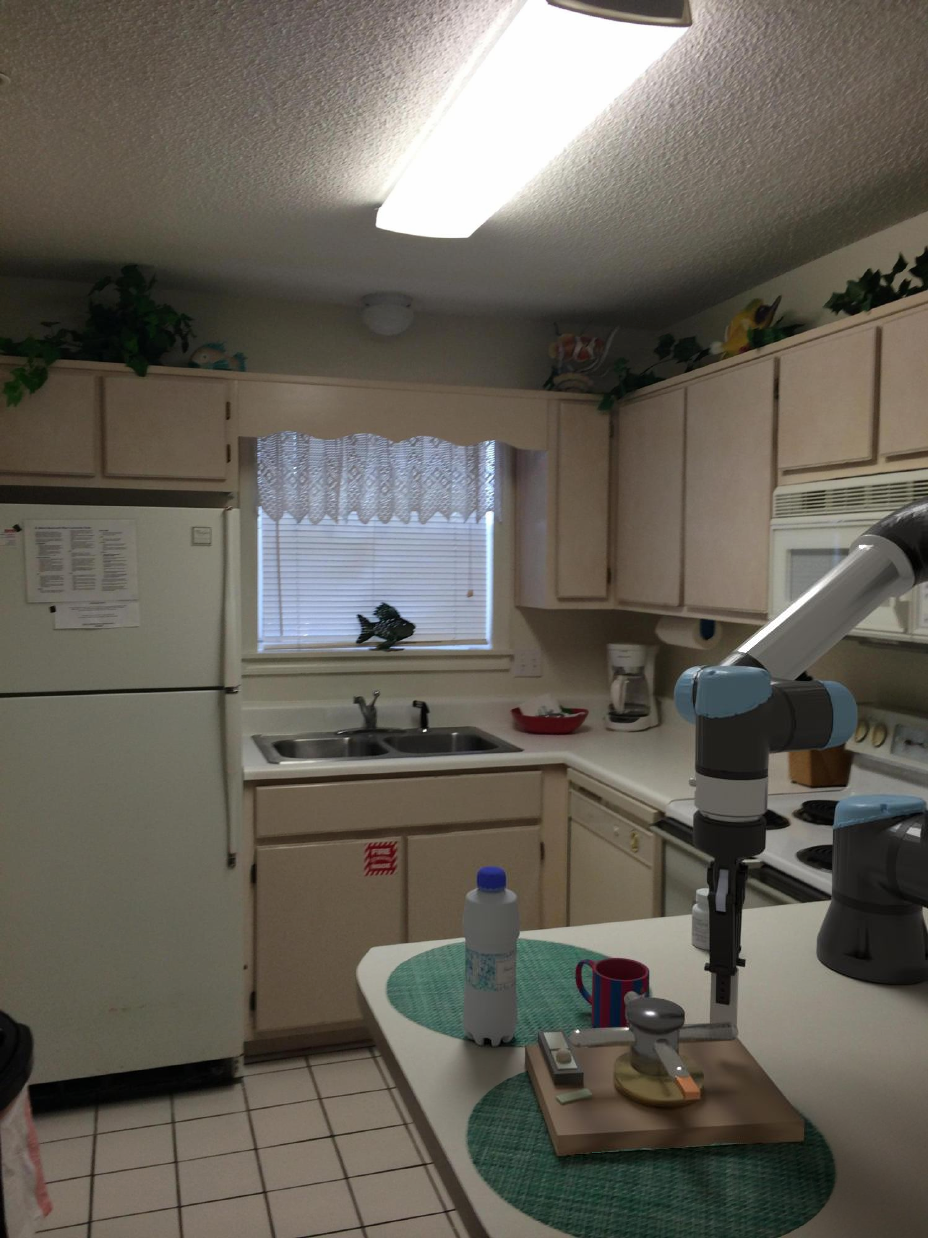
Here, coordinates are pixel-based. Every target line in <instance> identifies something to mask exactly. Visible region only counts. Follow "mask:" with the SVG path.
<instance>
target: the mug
mask: <svg viewBox="0 0 928 1238" xmlns="http://www.w3.org/2000/svg"><path fill="white" fill-rule="evenodd" d="M584 965H587V966H589V967H590V968H591V970H592V973H591V975H592V978H591V984H592V985H591V994H590V993H589V992H588V991H587V989H586V988H585V986H584V983H583V977H582V973H583V967H584ZM574 972H575V973H574V974H575V975H574V979H575V983H576V988H577V991H578V992H579V994H580V995H581V996H582V998H583V999H584V1000H585V1001H586V1002H587V1004H589V1005H590V1006H591V1020H590V1021H591V1025H592V1027H593V1026H594V1027H595V1028H615V1027H630V1023H629V1022H628V1021H627V1020H626V1017H625V1008H626V1005H625V1002H624V997H625V995H626V994H627V993H628V992H631V991H633V992H636V993H637V994H638V995H639V996H640V998H646V997H650V973H651V972H650V969H649V967H648V966H647V965H646V964H644V963H642V962H640V961H637V960H635V959H631V958H624V957H607V958H603V959H599V960H597V961H596V962H595V961H594V960H591V959H589V958H585V959H582V960H580V961H579V962H577V965H576V966H575V971H574ZM594 1027H593V1028H594Z"/></svg>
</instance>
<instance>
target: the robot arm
mask: <svg viewBox="0 0 928 1238" xmlns="http://www.w3.org/2000/svg"><path fill="white" fill-rule="evenodd" d="M927 582H928V495H925V496H923V497H920V498H918V499H915V500H913V501H910V502H908V503H907V504H904V505H903V506H901V507H899V508H898V509H896V510H894V511H893V512H891V513H889V514H887V515H886V516H884V517H882V519H880V520H879V521H877V522H876V523H875V524H873V525H872V526H870V527H869V528H867V530H865V531H864V532H862V533H861V534H860V535H859V536H858V537H857V538H856V539H854V540H853V541H852V542H851V544H850V547H849V549H848V555H847V556H846V557H844V558H843V559H842V560H841V561H840V562H839V563H838V564H836V565H835V566H834V567H833V568H832V569H830V570H828V571H827V573H826V574H824V575H823V576H822V577H821V578H820V579H818V580H817V581H816V582H815V583H813V584H812V585H811V586H810V587H809V588H808V589H806V590H805V591H803V593H802V594H800V595H799V596H798V597H796V599H794V600H793V601H792V602H790V603H789V604H788V605H787V606H786V607H785V608H784V609H782V610H781V611H780V612H779V613H777V614H776V615H775V616H774V617H773V618H772V619H770V620H769V621H768V622H767V623H766V624H764V625H763V626H762V627H760V628H759V629H758V630H757V631H756V632H755V633H753V634H752V635H751V636H750V637H748V638H747V639H746V640H745V641H744V642H742V643H741V644H740V645H739V646H738V647H737V648H736V649H734V650H733V651H732V652H730V653H729V654H728V655H727V656H726V657H724V658H723V659H722V660H720V661H719V662H718V663H716V665H713V666H711V665H708V664H706V665H701V666H700V665H697V666H692V667H690V668H688V669H686V670H685V671H683V672H682V674H680V676H679V678H678V679H677V681H676V684H675V686H674V691H673V701H674V706H675V708H676V712H677V713H678V715H679V716H680V717H681V718H682V719H683V720H684V721H685V722H687V723H690V724H692V725H695V743H694V745H695V747H694V749H695V750H694V751H695V753H694V770H695V772H694V776H695V777H691V778H689V780H688V785H689V786H690V787H691V788H695V790H694V803H693V805H694V806H695V808H696V809H697V810H696V811H695V812H694V813H693V815H692V817H693V818H692V819H693V820H692V843H693V845H694V847H695V848H696V849H697V850H698V851H701V852H703V853H708V854H710V855H712V857H714V858H713V859H714V860H713V859H711V860H710V865H709V866H708V867H707V870H706V883H707V885H708V888H709V893H708V896H707V900H708V905H709V950H708V951H709V957H708V958H709V959H708V960H709V962H705V964H704V967H703V969H704V970H703V971H705V972H709V973H710V998H709V1003H710V1004H709V1005H710V1006H709V1023H721V1022H731V1023H733V1024H734V1025H736V1027H737V1028H738V1003H739V1002H738V1001H739V975H740V974H739V970H740V969H739V968H738V967H740V968H745V967H746V961H747V960H746V958H745V959H744V958H740V957H739V956H740V953H741V952H742V945H741V942H742V941H741V940H742V921H743V907H744V903H745V900H746V890H747V889H746V886H747V885H746V884H747V881H748V878H749V867H750V866H749V864H746V862H744V861H743V857H744V858H751V857H756V856H759V855H761V854H762V853H763V852H764V851H765V850H766V847H767V844H766V843H767V842H766V841H767V819H766V818H765V816H764V814H765V813H766V812H768V803H769V802H768V801H769V800H768V798H769V797H768V795H769V777H770V776H769V764H770V763H769V762H770V754H781V753H789V752H790V753H791V752H802V751H803V752H804V751H812V750H813V751H814V750H817V751H823V750H826V749H828V748H833V747H839V746H841V745H843V744H845V743H846V742H848V741H850V739H851V738H852V737H853V736H854V734H855V732H856V729H857V727H858V719H859V716H858V713H859V711H858V705H857V703H856V699H855V697H854V696H853V694H852V693H851V691H850V690H849V689H848V688H847V687H845V685H843V684H841V683H839V682H837V681H833V680H820V679H811V680H809V681H805V680H804V681H802V680H801V681H800V680H796V679H797V678H798V677H799V676H801V675H802V674H803V673H804V672H805V671H807V669H808V668H809V667H811V666H812V665H813V664H814V663H815V662H817V661H818V660H819V659H820V658H821V657H823V656H824V655H825V654H826V653H827V652H828V651H829V650H830V649H832V648H833V647H834V646H835V645H837V643H838V642H840V641H841V640H842V639H843V638H844V637H845V636H847V635H848V634H849V633H851V631H853V630H854V629H855V628H856V627H857V626H858V625H859V624H860V623H862V622H863V621H864V620H865V619H867V618H868V616H870V615H871V614H872V613H873V612H874V611H876V610H877V609H878V608H879V607H880V606H882V605H883V603H885V602H886V601H887V600H888V599H890V598H899V597H902V596H904V595H906V594H907V593H908V592H910V590H912V589H913V588H914V587H915V586H918V585H921V584H924V583H927ZM833 820H834V821H833V825H832V860H831V861H832V863H831V864H832V866H831V867H832V868H831V869H832V870H831V899H830V903H829V906H828V909H826V910H827V911H826V913H825V916H824V918H823V921H822V923H821V925H820V928H819V930H818V931H819V932H818V934H817V937H816V946H815V948H816V957H817V958H818V959H819V960H820V962H821V963H822V964H824V965H826V967H828V968H830V969H832V970H834V971H836V972H838V973H840V974H842V975H845V976H849V977H852V978H856V979H859V980H863V981H868V982H873V983H880V984H887V985H888V984H889V985H890V984H891V985H909V984H911V985H912V984H917V983H921V982H924V981H927V980H928V928H927V923H926V920H925V917H924V916H925V915H924V909H923V908H925V909H927V910H928V802H927V801H926V800H925V799H923V798H922V797H919V796H913V795H904V794H893V793H891V794H889V793H888V794H887V793H886V794H885V793H884V794H883V793H882V794H881V793H878V794H876V793H875V794H874V793H872V794H860V795H858V794H857V795H853V796H847V797H845V798H843V799H841V800H840V801H839V802H837V804H836V806H835V810H834V818H833Z"/></svg>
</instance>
